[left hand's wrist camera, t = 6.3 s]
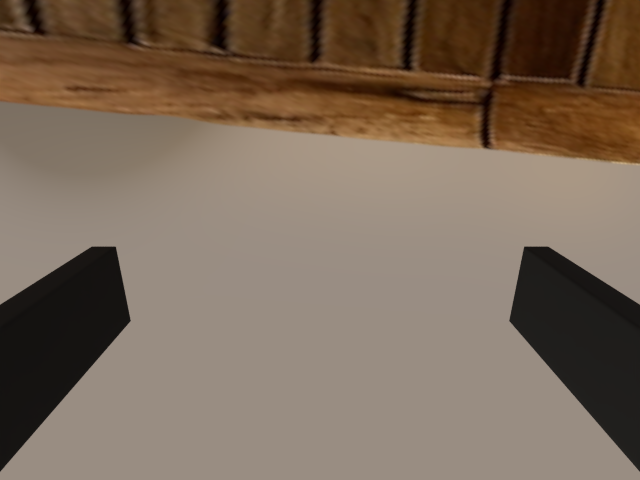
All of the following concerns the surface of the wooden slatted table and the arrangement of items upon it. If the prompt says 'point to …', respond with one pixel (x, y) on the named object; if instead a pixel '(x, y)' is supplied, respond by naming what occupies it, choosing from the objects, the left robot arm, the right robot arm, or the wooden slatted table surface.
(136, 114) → the wooden slatted table surface
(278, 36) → the wooden slatted table surface
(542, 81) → the wooden slatted table surface
